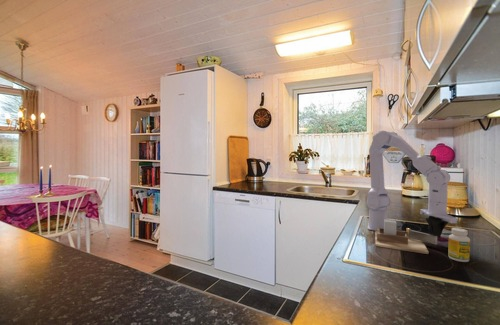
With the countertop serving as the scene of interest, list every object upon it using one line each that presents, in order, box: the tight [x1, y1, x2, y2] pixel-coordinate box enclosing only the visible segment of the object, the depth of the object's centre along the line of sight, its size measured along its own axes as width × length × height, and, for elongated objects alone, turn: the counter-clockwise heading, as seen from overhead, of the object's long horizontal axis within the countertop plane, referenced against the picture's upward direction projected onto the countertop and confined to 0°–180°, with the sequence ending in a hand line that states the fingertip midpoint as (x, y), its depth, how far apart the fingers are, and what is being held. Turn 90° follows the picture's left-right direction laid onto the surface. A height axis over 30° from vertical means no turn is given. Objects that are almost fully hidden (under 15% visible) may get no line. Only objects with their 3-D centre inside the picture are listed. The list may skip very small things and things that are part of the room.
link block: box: [384, 218, 398, 235], centre depth 97 cm, size 4×4×7 cm
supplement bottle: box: [447, 227, 471, 263], centre depth 81 cm, size 5×5×10 cm
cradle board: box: [374, 228, 429, 255], centre depth 96 cm, size 18×16×3 cm
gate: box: [405, 227, 438, 246], centre depth 95 cm, size 10×1×3 cm, turn 34°
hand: (436, 237), depth 95 cm, fingers closed
